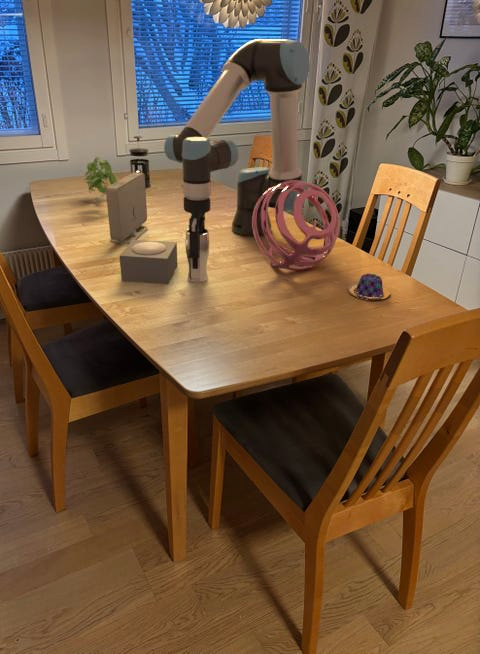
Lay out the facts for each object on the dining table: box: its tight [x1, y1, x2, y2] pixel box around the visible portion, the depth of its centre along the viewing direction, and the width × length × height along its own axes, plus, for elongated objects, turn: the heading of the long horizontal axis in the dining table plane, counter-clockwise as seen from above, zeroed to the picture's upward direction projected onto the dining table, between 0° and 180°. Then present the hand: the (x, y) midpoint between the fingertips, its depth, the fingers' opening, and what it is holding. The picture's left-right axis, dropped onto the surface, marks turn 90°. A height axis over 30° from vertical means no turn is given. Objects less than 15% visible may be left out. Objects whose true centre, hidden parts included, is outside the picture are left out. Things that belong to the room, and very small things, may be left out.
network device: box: [105, 172, 149, 245], centre depth 183 cm, size 26×9×20 cm, turn 168°
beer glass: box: [185, 228, 210, 284], centre depth 151 cm, size 7×7×15 cm
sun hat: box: [348, 273, 384, 301], centre depth 149 cm, size 12×12×5 cm
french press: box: [128, 135, 151, 189], centre depth 245 cm, size 12×9×23 cm
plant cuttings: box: [83, 156, 118, 205], centre depth 220 cm, size 35×17×22 cm
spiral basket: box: [252, 180, 341, 272], centre depth 162 cm, size 28×28×27 cm
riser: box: [119, 239, 178, 285], centre depth 156 cm, size 14×14×8 cm
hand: (197, 272), depth 154 cm, fingers closed on beer glass, 6 cm apart
